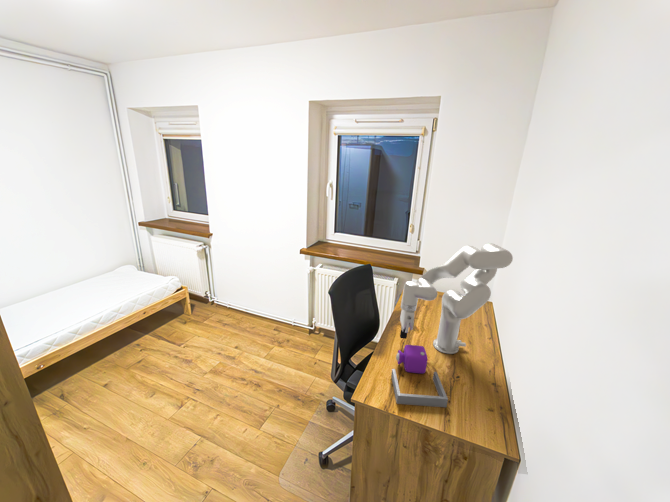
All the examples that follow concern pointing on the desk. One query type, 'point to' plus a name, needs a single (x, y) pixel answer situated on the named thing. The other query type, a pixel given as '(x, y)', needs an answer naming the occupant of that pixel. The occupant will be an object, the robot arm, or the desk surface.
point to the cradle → (421, 399)
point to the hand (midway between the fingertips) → (403, 337)
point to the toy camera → (413, 359)
